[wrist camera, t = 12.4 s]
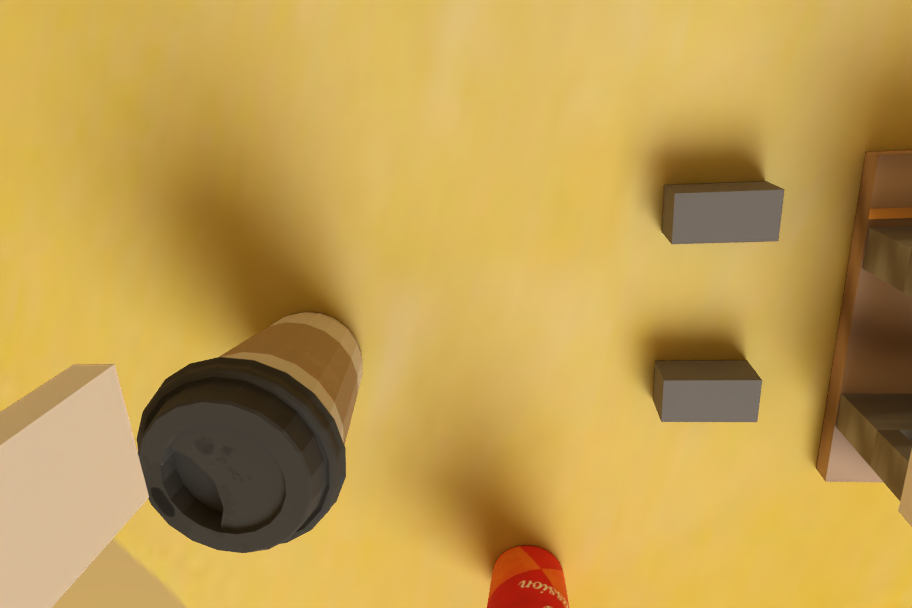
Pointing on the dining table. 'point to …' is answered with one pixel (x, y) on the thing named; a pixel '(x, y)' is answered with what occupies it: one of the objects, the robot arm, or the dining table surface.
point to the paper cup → (527, 580)
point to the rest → (714, 221)
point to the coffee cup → (254, 435)
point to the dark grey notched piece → (874, 336)
